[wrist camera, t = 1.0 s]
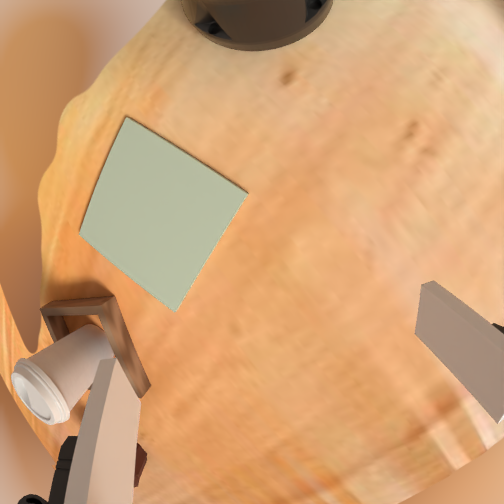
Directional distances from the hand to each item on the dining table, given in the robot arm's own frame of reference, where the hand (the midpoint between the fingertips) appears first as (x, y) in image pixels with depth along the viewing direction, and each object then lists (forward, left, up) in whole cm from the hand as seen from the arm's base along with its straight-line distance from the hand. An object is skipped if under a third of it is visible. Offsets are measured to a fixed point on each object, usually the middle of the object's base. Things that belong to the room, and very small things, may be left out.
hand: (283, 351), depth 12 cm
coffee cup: (+11, -32, -19) cm, 39 cm away
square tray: (+11, -32, -19) cm, 39 cm away
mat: (-5, -16, -19) cm, 25 cm away
